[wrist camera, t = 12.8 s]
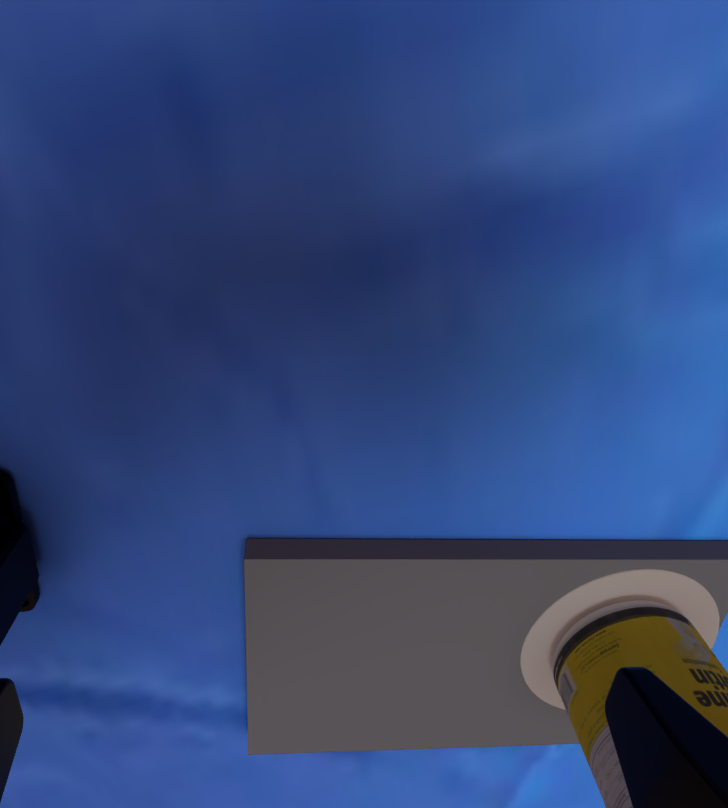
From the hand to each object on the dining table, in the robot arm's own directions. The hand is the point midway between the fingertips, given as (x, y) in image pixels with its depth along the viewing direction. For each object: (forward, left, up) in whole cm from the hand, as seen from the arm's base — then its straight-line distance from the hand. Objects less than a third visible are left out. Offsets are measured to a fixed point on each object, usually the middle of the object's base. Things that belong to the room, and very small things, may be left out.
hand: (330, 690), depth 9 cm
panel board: (+8, -14, -13) cm, 21 cm away
